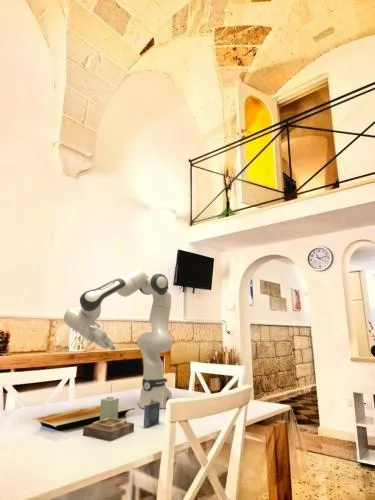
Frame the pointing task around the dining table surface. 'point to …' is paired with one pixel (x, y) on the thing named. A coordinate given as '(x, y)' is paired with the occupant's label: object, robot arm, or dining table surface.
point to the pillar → (109, 408)
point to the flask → (151, 413)
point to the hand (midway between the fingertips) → (113, 346)
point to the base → (108, 429)
